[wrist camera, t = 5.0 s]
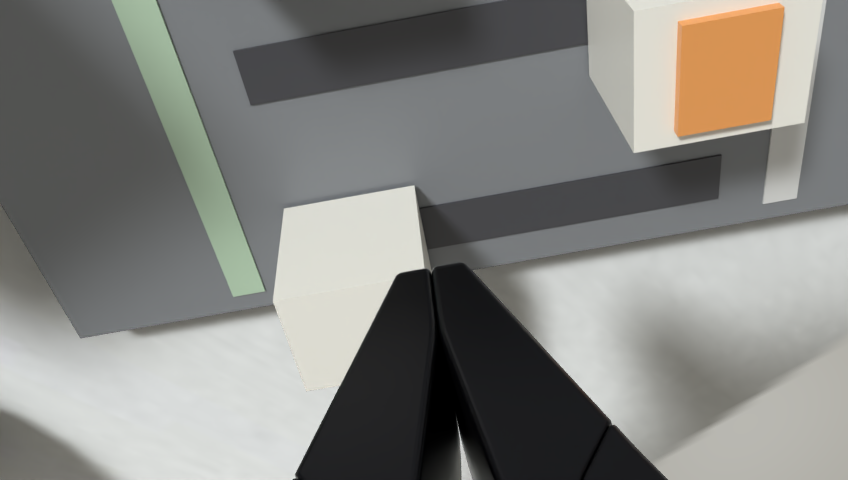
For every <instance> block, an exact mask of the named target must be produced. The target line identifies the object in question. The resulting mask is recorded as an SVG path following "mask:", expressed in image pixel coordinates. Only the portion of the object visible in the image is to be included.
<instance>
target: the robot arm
mask: <svg viewBox="0 0 848 480" xmlns="http://www.w3.org/2000/svg"><path fill="white" fill-rule="evenodd" d="M457 421H458V422H457ZM458 426H459V430H458ZM459 431H460V436H461V440H462V444H463V448H464V452H465V456H466V459H467V463H468V466H469V469H470V473H471V476H472V479H473V480H668V479H667V478H666V477H665V476H664V475H663V474H662V473H661V472H660V471H659V470H658V469H657V468H656V467H655V466H654V465H653V464H652V463H651V462H650V461H649V460H648V459H647V458H646V457H645V456H644V455H643V454H642V453H641V452H640V451H639V450H638V449H637V448H636V447H635V446H634V445H633V444H632V443H631V442H630V440H629V439H628V438H627V437H626V436H625V435H624V434H623V433H622V432H621V431H620V430H619V429H618V427H617V426H615V425H612V423H611V420H610V419H609V418H608V417H607V416H606V415H605V414H604V413H603V412H602V411H601V409H600V408H599V407H598V406H597V405H596V404H595V403H594V402H593V401H592V400H591V399H590V398H589V397H588V395H587V394H586V393H585V392H584V391H583V390H582V389H581V388H580V387H579V386H578V385H577V384H576V382H575V381H574V380H573V379H572V378H571V377H570V376H569V375H568V374H567V373H566V372H565V371H564V369H563V368H562V367H561V366H560V365H559V364H558V363H557V362H556V361H555V360H554V359H553V358H552V356H551V355H550V354H549V353H548V352H547V351H546V350H545V349H544V348H543V347H542V346H541V345H540V343H539V342H538V341H537V340H536V339H535V338H534V337H533V336H532V335H531V334H530V333H529V332H528V331H527V329H526V328H525V327H524V326H523V325H522V324H521V323H520V322H519V321H518V320H517V319H516V318H515V316H514V315H513V314H512V313H511V312H510V311H509V310H508V309H507V308H506V307H505V306H504V305H503V303H502V302H501V301H500V300H499V299H498V298H497V297H496V296H495V295H494V294H493V293H492V292H491V290H490V289H489V288H488V287H487V286H486V285H485V284H484V283H483V282H482V281H481V280H480V279H479V277H478V276H477V275H476V274H475V273H474V272H473V271H472V270H471V269H470V268H469V267H468V266H467V265H466V264H465V263H463V262H457V263H452V264H446V265H440V266H436V267H434V268H433V269H432V274H431V271H430V270H429V269H426V268H423V269H418V270H412V271H406V272H401V273H399V274H398V275H397V276H396V277H395V279H394V281H393V283H392V285H391V287H390V289H389V291H388V293H387V294H386V296H385V298H384V300H383V302H382V304H381V306H380V308H379V310H378V312H377V314H376V316H375V318H374V320H373V322H372V324H371V326H370V328H369V330H368V332H367V334H366V336H365V338H364V340H363V342H362V344H361V346H360V348H359V350H358V352H357V353H356V355H355V357H354V359H353V361H352V363H351V365H350V367H349V369H348V371H347V373H346V375H345V377H344V379H343V381H342V383H341V385H340V387H339V389H338V391H337V393H336V395H335V397H334V399H333V401H332V403H331V405H330V407H329V409H328V411H327V413H326V414H325V416H324V418H323V420H322V422H321V424H320V426H319V428H318V430H317V432H316V434H315V436H314V438H313V440H312V442H311V444H310V446H309V448H308V450H307V452H306V454H305V456H304V458H303V460H302V462H301V464H300V466H299V468H298V470H297V472H296V474H295V476H296V478H295V479H293V480H461V453H460V438H459Z"/></svg>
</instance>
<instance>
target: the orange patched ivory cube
mask: <svg viewBox="0 0 848 480" xmlns="http://www.w3.org/2000/svg"><path fill="white" fill-rule="evenodd" d="M586 1H587V28H588V54H589V76H590V78H591V80H592V81H593V83H594V85H595V87H596V88H597V90H598V92H599V94H600V95H601V97H602V99H603V100H604V102H605V104H606V106H607V107H608V109H609V111H610V113H611V114H612V116H613V118H614V120H615V121H616V123H617V125H618V127H619V128H620V130H621V132H622V133H623V135H624V137H625V139H626V140H627V142H628V144H629V146H630V147H631V149H632V151H633V153H638V152H643V151H649V150H654V149H660V148H666V147H671V146H677V145H682V144H688V143H694V142H699V141H705V140H710V139H716V138H722V137H727V136H733V135H738V134H744V133H750V132H755V131H761V130H766V129H772V128H778V127H783V126H789V125H794V124H800V123H805V116H806V110H807V103H808V96H809V90H810V83H811V76H812V69H813V63H814V56H815V49H816V42H817V36H818V29H819V22H820V15H821V9H822V2H823V0H586Z"/></svg>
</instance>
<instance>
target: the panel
mask: <svg viewBox="0 0 848 480" xmlns="http://www.w3.org/2000/svg"><path fill="white" fill-rule="evenodd" d="M413 185H414V186H415V191H416V196H417V201H418V206H419V211H420V216H421V221H422V226H423V231H424V236H425V241H426V246H427V251H428V255H429V260H430V265H431V270H432V269H433V268H434V267H436V266H440V265H446V264H452V263H457V262H463V263H465V264H466V265H467V266H468V267H469V268H470V269H471V270H475V269H481V268H486V267H492V266H498V265H504V264H509V263H515V262H521V261H527V260H532V259H538V258H544V257H550V256H555V255H561V254H567V253H572V252H578V251H584V250H590V249H595V248H601V247H607V246H613V245H618V244H624V243H630V242H635V241H641V240H647V239H653V238H658V237H664V236H670V235H676V234H681V233H687V232H693V231H699V230H704V229H710V228H716V227H721V226H727V225H733V224H739V223H744V222H750V221H756V220H762V219H767V218H773V217H779V216H784V215H790V214H796V213H802V212H807V211H813V210H819V209H825V208H830V207H836V206H842V205H848V0H823V2H822V9H821V15H820V22H819V29H818V36H817V42H816V49H815V56H814V63H813V69H812V76H811V83H810V90H809V96H808V103H807V110H806V116H805V123H800V124H794V125H789V126H783V127H778V128H772V129H766V130H761V131H755V132H750V133H744V134H738V135H733V136H727V137H722V138H716V139H710V140H705V141H699V142H694V143H688V144H682V145H677V146H671V147H666V148H660V149H654V150H649V151H643V152H638V153H633V151H632V149H631V147H630V146H629V144H628V142H627V140H626V139H625V137H624V135H623V133H622V132H621V130H620V128H619V127H618V125H617V123H616V121H615V120H614V118H613V116H612V114H611V113H610V111H609V109H608V107H607V106H606V104H605V102H604V100H603V99H602V97H601V95H600V94H599V92H598V90H597V88H596V87H595V85H594V83H593V81H592V80H591V78H590V76H589V54H588V28H587V1H586V0H0V203H1V205H2V207H3V208H4V210H5V212H6V213H7V215H8V217H9V219H10V220H11V222H12V224H13V225H14V227H15V229H16V230H17V232H18V234H19V235H20V237H21V239H22V240H23V242H24V244H25V246H26V247H27V249H28V251H29V252H30V254H31V256H32V257H33V259H34V261H35V262H36V264H37V266H38V267H39V269H40V271H41V273H42V274H43V276H44V278H45V279H46V281H47V283H48V284H49V286H50V288H51V289H52V291H53V293H54V294H55V296H56V298H57V300H58V301H59V303H60V305H61V306H62V308H63V310H64V311H65V313H66V315H67V316H68V318H69V320H70V321H71V323H72V325H73V327H74V328H75V330H76V332H77V333H78V335H79V337H80V338H85V337H91V336H97V335H103V334H108V333H114V332H120V331H125V330H131V329H137V328H143V327H148V326H154V325H160V324H166V323H171V322H177V321H183V320H189V319H194V318H200V317H206V316H211V315H217V314H223V313H229V312H234V311H240V310H246V309H252V308H257V307H263V306H269V305H274V303H273V295H274V287H275V279H276V270H277V262H278V254H279V245H280V237H281V229H282V220H283V212H284V208H290V207H296V206H301V205H307V204H312V203H318V202H324V201H329V200H335V199H340V198H346V197H352V196H357V195H363V194H368V193H374V192H379V191H385V190H391V189H396V188H402V187H407V186H413Z"/></svg>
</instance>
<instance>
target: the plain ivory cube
mask: <svg viewBox="0 0 848 480" xmlns="http://www.w3.org/2000/svg"><path fill="white" fill-rule="evenodd" d="M423 268H426V269H429V270H430V271H431V274H432V270H431V265H430V260H429V255H428V251H427V246H426V241H425V236H424V231H423V226H422V221H421V216H420V211H419V206H418V201H417V196H416V191H415V186H414V185H413V186H407V187H402V188H396V189H391V190H385V191H379V192H374V193H368V194H363V195H357V196H352V197H346V198H340V199H335V200H329V201H324V202H318V203H312V204H307V205H301V206H296V207H290V208H284V212H283V220H282V229H281V237H280V245H279V254H278V262H277V270H276V279H275V287H274V295H273V303H274V306H275V309H276V311H277V314H278V317H279V319H280V322H281V325H282V327H283V330H284V333H285V336H286V338H287V341H288V344H289V346H290V349H291V352H292V354H293V357H294V360H295V362H296V365H297V368H298V370H299V373H300V376H301V379H302V381H303V384H304V387H305V389H306V391H312V390H317V389H323V388H329V387H335V386H340V385H341V383H342V381H343V379H344V377H345V375H346V373H347V371H348V369H349V367H350V365H351V363H352V361H353V359H354V357H355V355H356V353H357V352H358V350H359V348H360V346H361V344H362V342H363V340H364V338H365V336H366V334H367V332H368V330H369V328H370V326H371V324H372V322H373V320H374V318H375V316H376V314H377V312H378V310H379V308H380V306H381V304H382V302H383V300H384V298H385V296H386V294H387V293H388V291H389V289H390V287H391V285H392V283H393V281H394V279H395V277H396V276H397V275H398V274H399V273H401V272H406V271H412V270H418V269H423Z"/></svg>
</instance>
